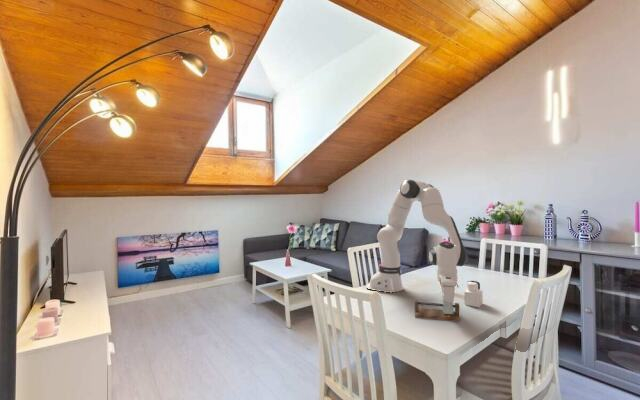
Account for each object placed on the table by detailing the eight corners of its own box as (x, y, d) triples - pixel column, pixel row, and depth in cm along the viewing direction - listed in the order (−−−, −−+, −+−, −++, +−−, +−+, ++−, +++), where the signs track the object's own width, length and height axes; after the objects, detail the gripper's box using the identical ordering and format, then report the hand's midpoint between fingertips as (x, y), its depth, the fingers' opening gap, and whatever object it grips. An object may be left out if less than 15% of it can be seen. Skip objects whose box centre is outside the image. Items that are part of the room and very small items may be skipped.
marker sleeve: (443, 313, 146) (443, 298, 146) (442, 309, 151) (442, 295, 151) (452, 314, 145) (452, 299, 145) (451, 310, 150) (451, 295, 150)
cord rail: (414, 317, 149) (414, 303, 149) (415, 310, 157) (415, 298, 157) (460, 321, 143) (459, 307, 143) (458, 314, 150) (458, 301, 150)
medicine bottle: (468, 300, 168) (467, 278, 167) (482, 303, 163) (482, 281, 163) (464, 304, 162) (464, 282, 162) (479, 307, 158) (479, 284, 157)
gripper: (439, 270, 158) (439, 297, 159) (441, 282, 139) (441, 313, 139) (452, 271, 156) (452, 298, 157) (456, 283, 137) (456, 314, 137)
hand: (447, 305), depth 148 cm, fingers open, 8 cm apart
